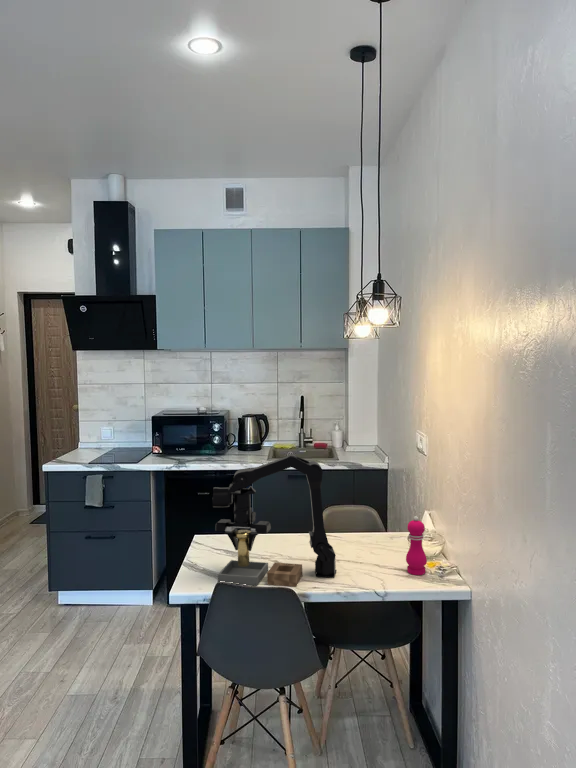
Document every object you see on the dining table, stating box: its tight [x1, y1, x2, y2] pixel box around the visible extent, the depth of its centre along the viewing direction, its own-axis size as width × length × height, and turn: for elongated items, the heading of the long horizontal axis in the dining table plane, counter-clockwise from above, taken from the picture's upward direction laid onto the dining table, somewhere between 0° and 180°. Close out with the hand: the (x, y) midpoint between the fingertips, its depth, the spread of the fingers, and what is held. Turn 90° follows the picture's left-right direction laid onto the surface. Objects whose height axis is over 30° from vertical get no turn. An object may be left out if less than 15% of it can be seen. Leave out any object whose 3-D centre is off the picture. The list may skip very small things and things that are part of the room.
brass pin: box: [235, 529, 251, 567], centre depth 193 cm, size 6×6×12 cm
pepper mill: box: [405, 515, 428, 576], centre depth 195 cm, size 7×7×20 cm
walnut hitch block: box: [266, 562, 303, 588], centre depth 190 cm, size 10×10×4 cm
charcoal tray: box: [217, 559, 269, 587], centre depth 194 cm, size 14×14×3 cm
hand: (243, 550), depth 193 cm, fingers closed on brass pin, 5 cm apart
